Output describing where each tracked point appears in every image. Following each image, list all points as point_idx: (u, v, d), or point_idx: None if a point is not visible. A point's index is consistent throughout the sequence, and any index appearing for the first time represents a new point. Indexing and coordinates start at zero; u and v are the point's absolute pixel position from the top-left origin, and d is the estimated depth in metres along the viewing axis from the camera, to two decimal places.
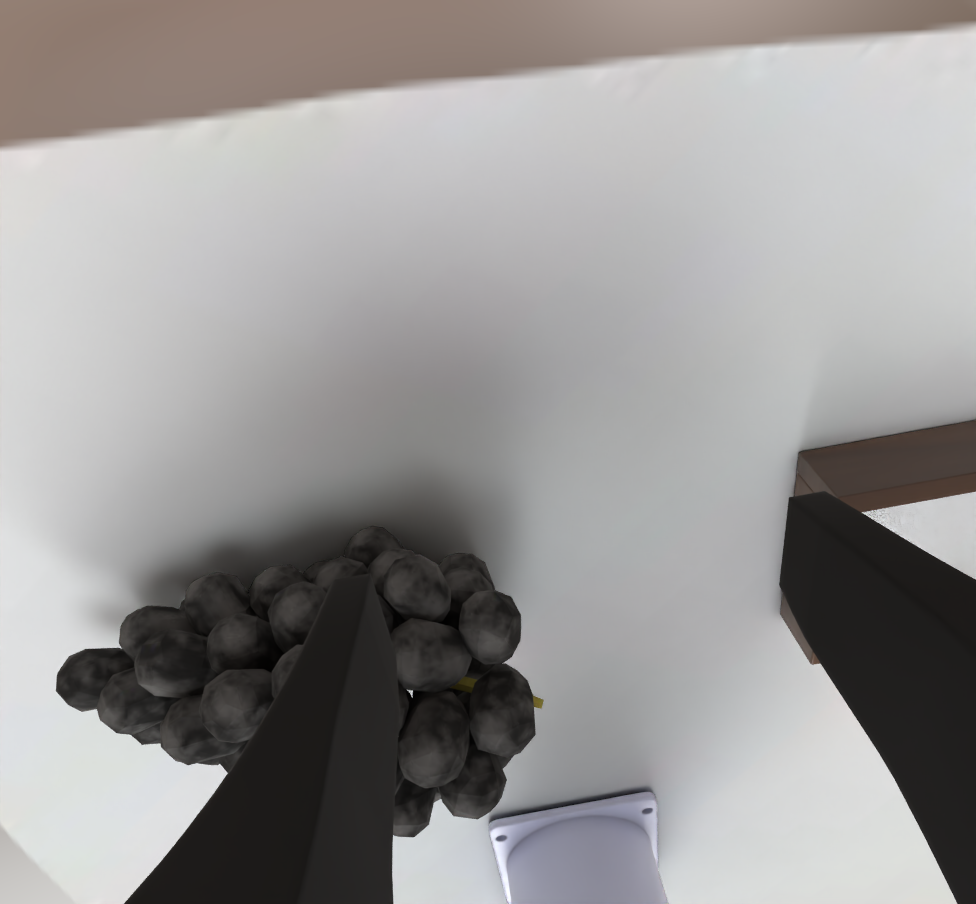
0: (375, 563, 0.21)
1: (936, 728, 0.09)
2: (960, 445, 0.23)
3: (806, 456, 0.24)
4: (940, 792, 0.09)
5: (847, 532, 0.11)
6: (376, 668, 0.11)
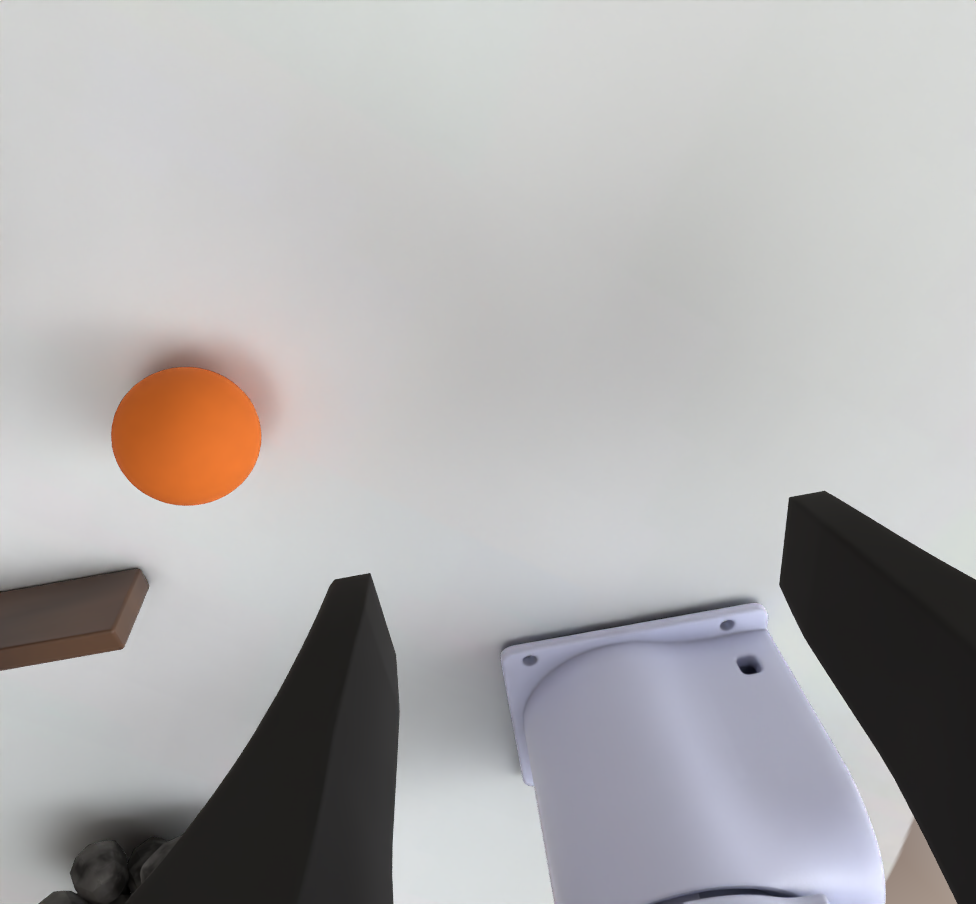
0: None
1: (936, 728, 0.09)
2: None
3: None
4: (940, 792, 0.09)
5: (847, 532, 0.11)
6: (375, 668, 0.11)
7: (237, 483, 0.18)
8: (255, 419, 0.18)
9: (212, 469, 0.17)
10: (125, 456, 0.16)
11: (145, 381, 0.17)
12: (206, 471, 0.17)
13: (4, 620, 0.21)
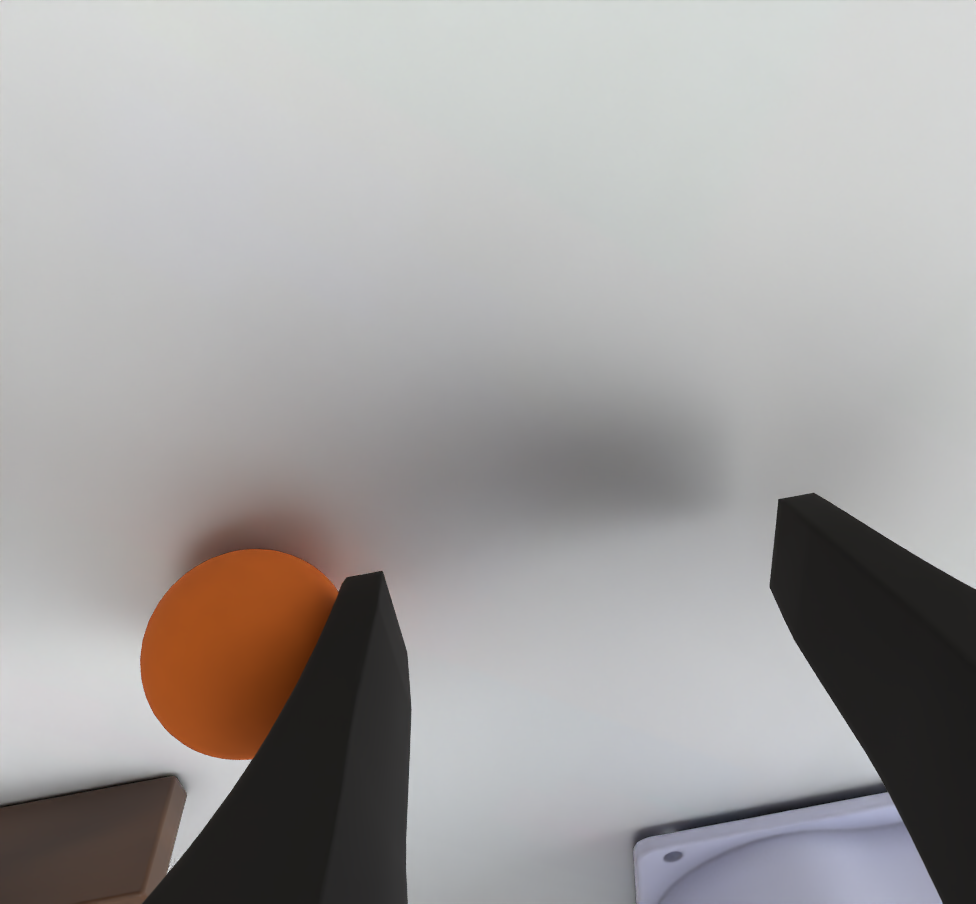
0: None
1: (922, 731, 0.09)
2: None
3: None
4: (926, 794, 0.09)
5: (835, 534, 0.11)
6: (389, 665, 0.11)
7: None
8: None
9: None
10: (161, 707, 0.11)
11: (191, 586, 0.11)
12: None
13: None
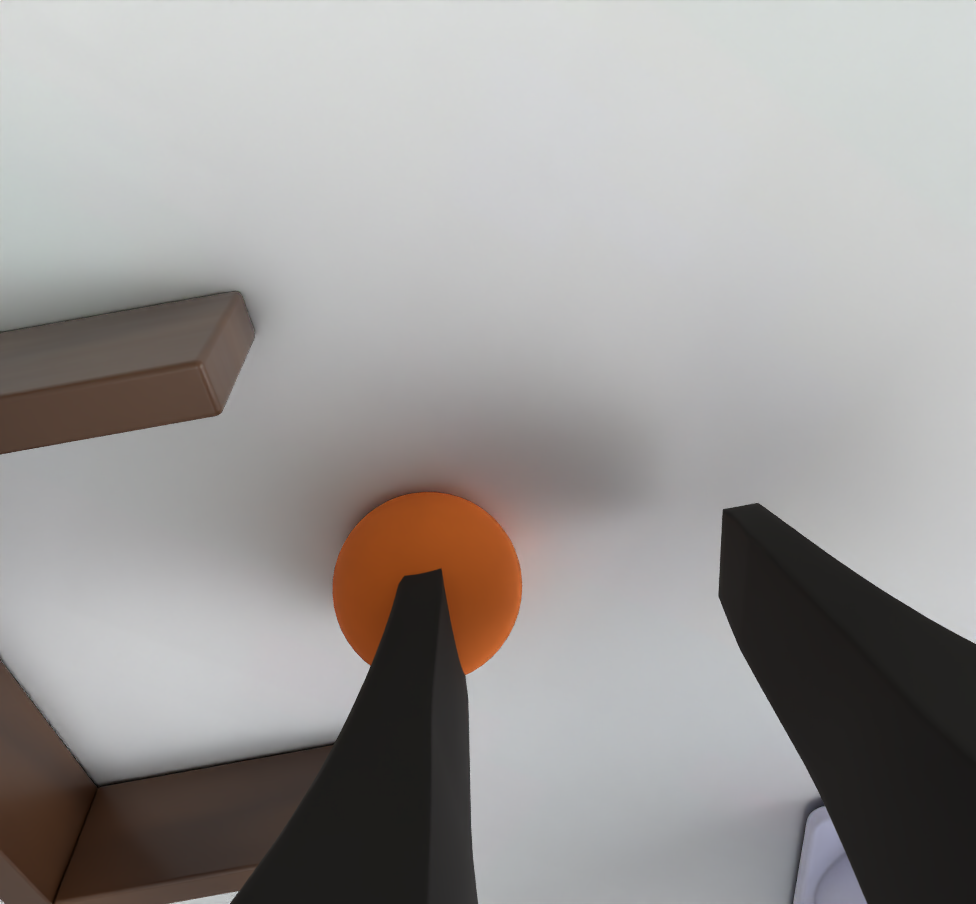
0: None
1: (850, 745, 0.09)
2: None
3: None
4: (856, 808, 0.09)
5: (772, 545, 0.11)
6: (452, 654, 0.11)
7: None
8: (455, 636, 0.12)
9: (360, 650, 0.12)
10: None
11: (399, 500, 0.13)
12: (355, 646, 0.12)
13: (233, 816, 0.16)
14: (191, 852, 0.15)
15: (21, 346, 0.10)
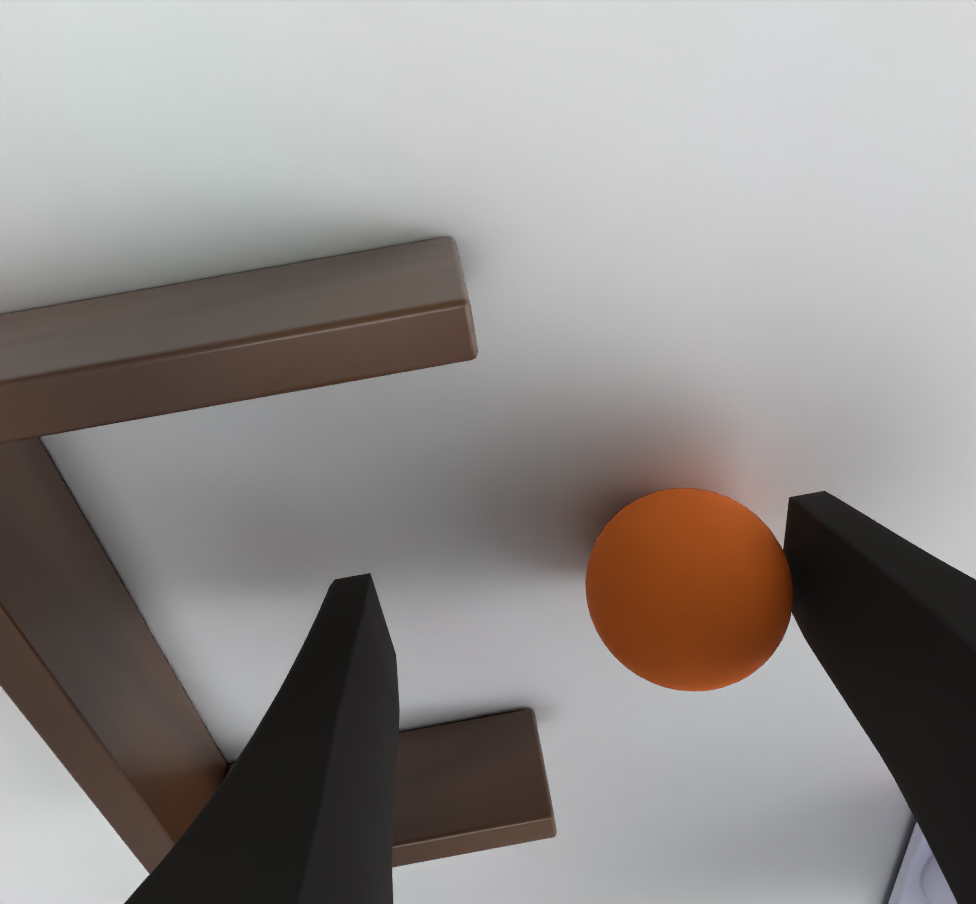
0: None
1: (936, 728, 0.09)
2: None
3: None
4: (940, 792, 0.09)
5: (847, 532, 0.11)
6: (375, 668, 0.11)
7: None
8: (728, 665, 0.11)
9: (615, 644, 0.12)
10: None
11: (688, 500, 0.12)
12: (609, 638, 0.12)
13: None
14: None
15: (239, 291, 0.10)
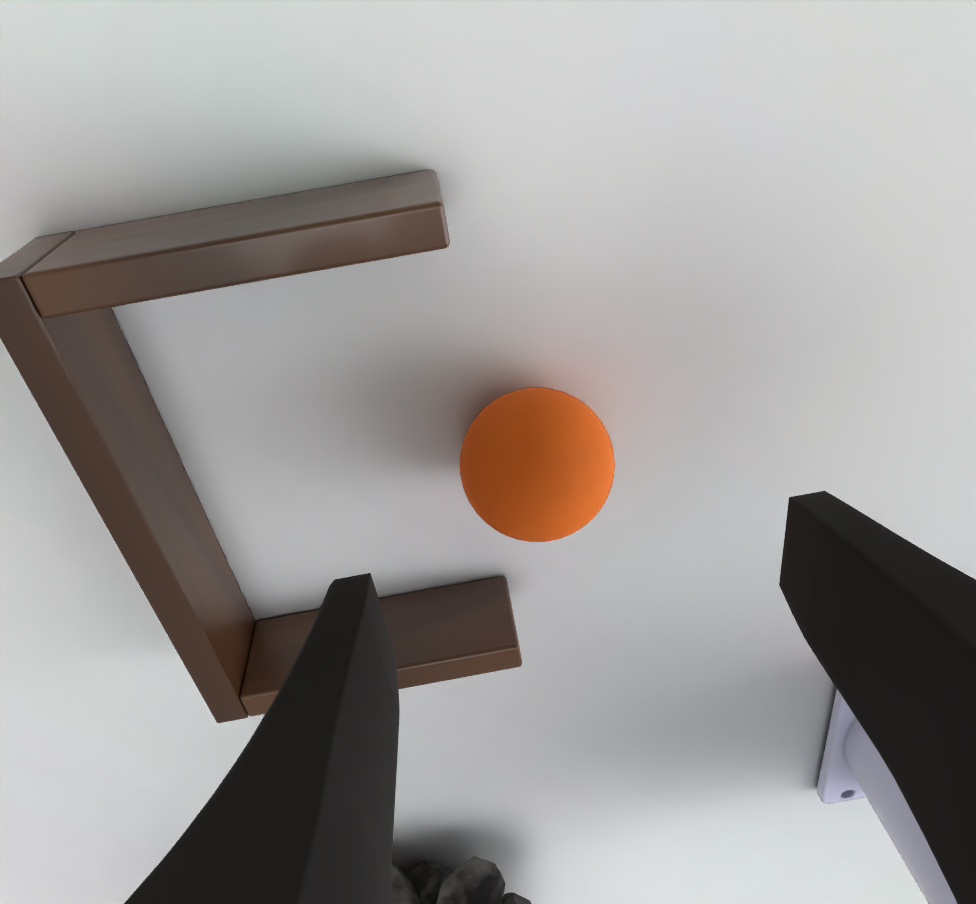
0: None
1: (936, 729, 0.09)
2: None
3: None
4: (940, 792, 0.09)
5: (847, 532, 0.11)
6: (375, 668, 0.11)
7: None
8: (476, 502, 0.15)
9: None
10: None
11: (540, 396, 0.15)
12: None
13: None
14: None
15: (277, 205, 0.13)
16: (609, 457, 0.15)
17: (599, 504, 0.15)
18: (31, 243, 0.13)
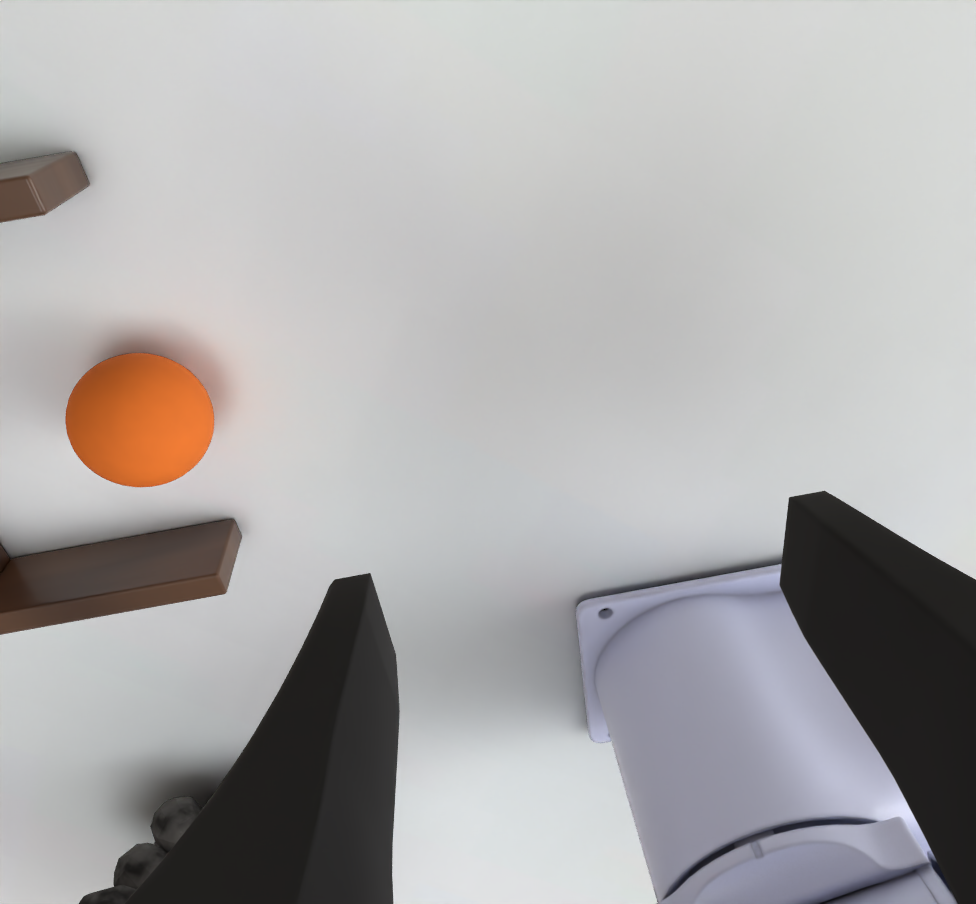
0: None
1: (936, 728, 0.09)
2: None
3: None
4: (940, 792, 0.09)
5: (847, 532, 0.11)
6: (376, 668, 0.11)
7: None
8: None
9: None
10: None
11: (118, 364, 0.17)
12: None
13: (107, 567, 0.21)
14: (73, 587, 0.21)
15: None
16: (127, 439, 0.17)
17: (118, 472, 0.17)
18: None
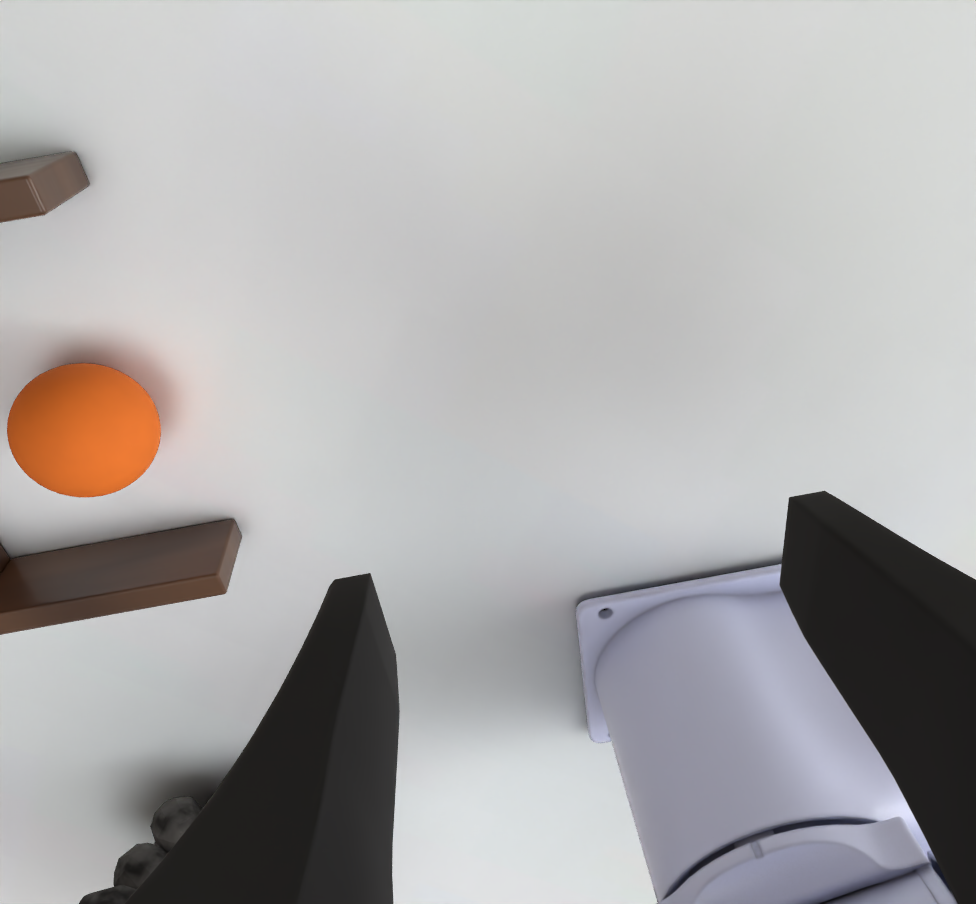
0: None
1: (936, 728, 0.09)
2: None
3: None
4: (940, 792, 0.09)
5: (847, 532, 0.11)
6: (376, 668, 0.11)
7: None
8: None
9: None
10: (128, 404, 0.18)
11: (50, 377, 0.17)
12: None
13: (107, 567, 0.21)
14: (73, 587, 0.21)
15: None
16: (17, 453, 0.17)
17: None
18: None
